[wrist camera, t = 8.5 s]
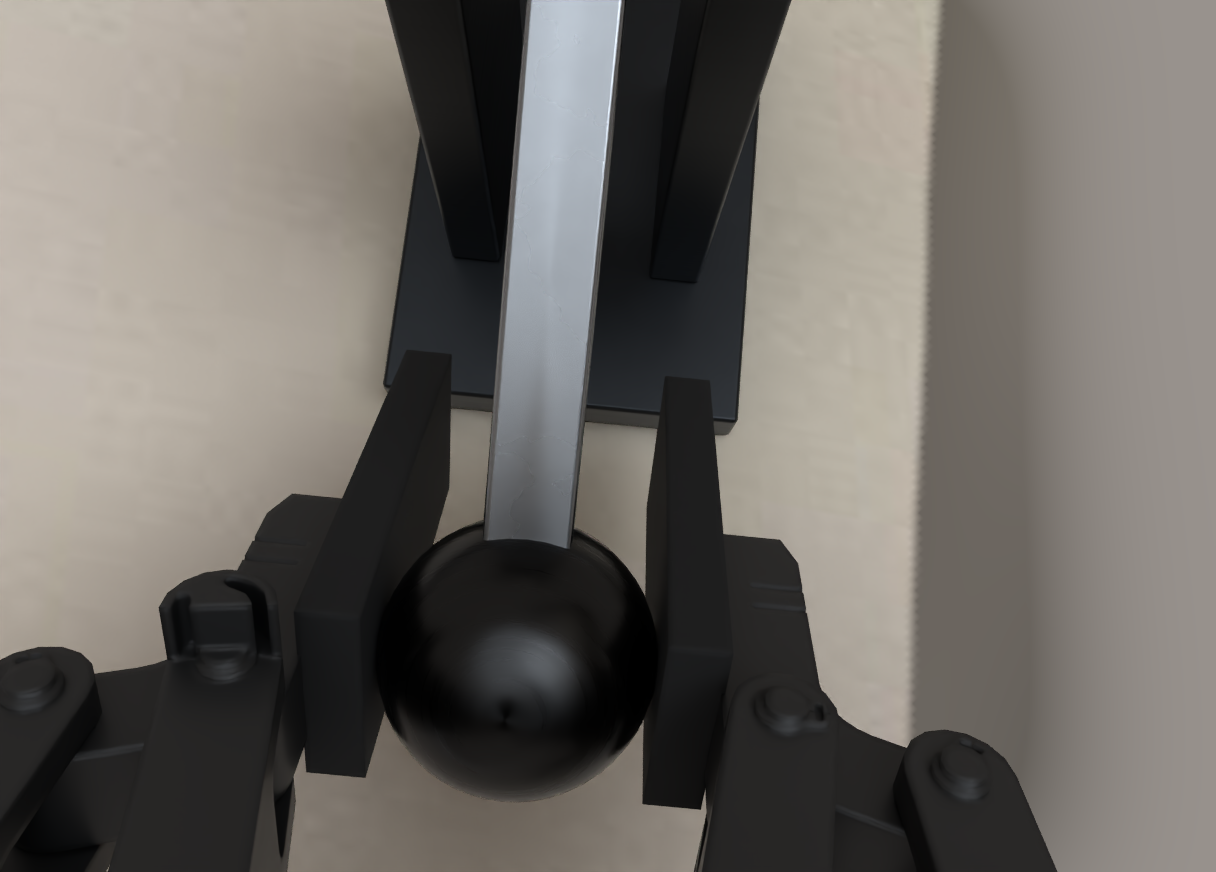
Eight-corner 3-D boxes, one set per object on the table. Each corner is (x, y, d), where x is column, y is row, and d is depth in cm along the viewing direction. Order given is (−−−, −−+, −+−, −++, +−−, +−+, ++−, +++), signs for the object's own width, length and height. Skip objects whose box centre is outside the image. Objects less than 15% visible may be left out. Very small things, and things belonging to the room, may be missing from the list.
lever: (638, 729, 16) (645, 876, 12) (398, 706, 16) (337, 848, 12) (763, -337, 13) (819, -538, 10) (469, -370, 13) (416, -586, 9)
